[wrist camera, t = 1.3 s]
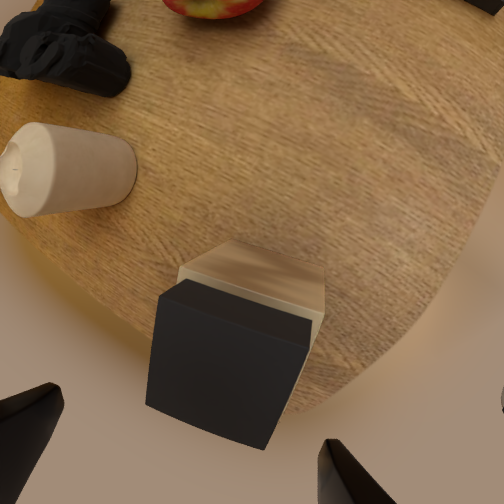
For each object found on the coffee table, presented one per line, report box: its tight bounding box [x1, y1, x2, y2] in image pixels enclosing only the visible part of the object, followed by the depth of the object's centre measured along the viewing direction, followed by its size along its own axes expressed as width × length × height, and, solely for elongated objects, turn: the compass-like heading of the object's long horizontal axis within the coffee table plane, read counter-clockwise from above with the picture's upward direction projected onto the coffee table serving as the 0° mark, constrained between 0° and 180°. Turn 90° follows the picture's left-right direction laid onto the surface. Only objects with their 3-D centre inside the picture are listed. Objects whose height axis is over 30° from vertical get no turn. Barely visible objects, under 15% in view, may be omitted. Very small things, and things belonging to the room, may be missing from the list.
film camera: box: [0, 0, 130, 97], centre depth 16 cm, size 15×10×9 cm, turn 64°
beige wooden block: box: [176, 239, 325, 423], centre depth 17 cm, size 6×6×8 cm
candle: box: [0, 122, 137, 218], centre depth 17 cm, size 6×6×10 cm
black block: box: [145, 278, 312, 450], centre depth 12 cm, size 6×6×2 cm
